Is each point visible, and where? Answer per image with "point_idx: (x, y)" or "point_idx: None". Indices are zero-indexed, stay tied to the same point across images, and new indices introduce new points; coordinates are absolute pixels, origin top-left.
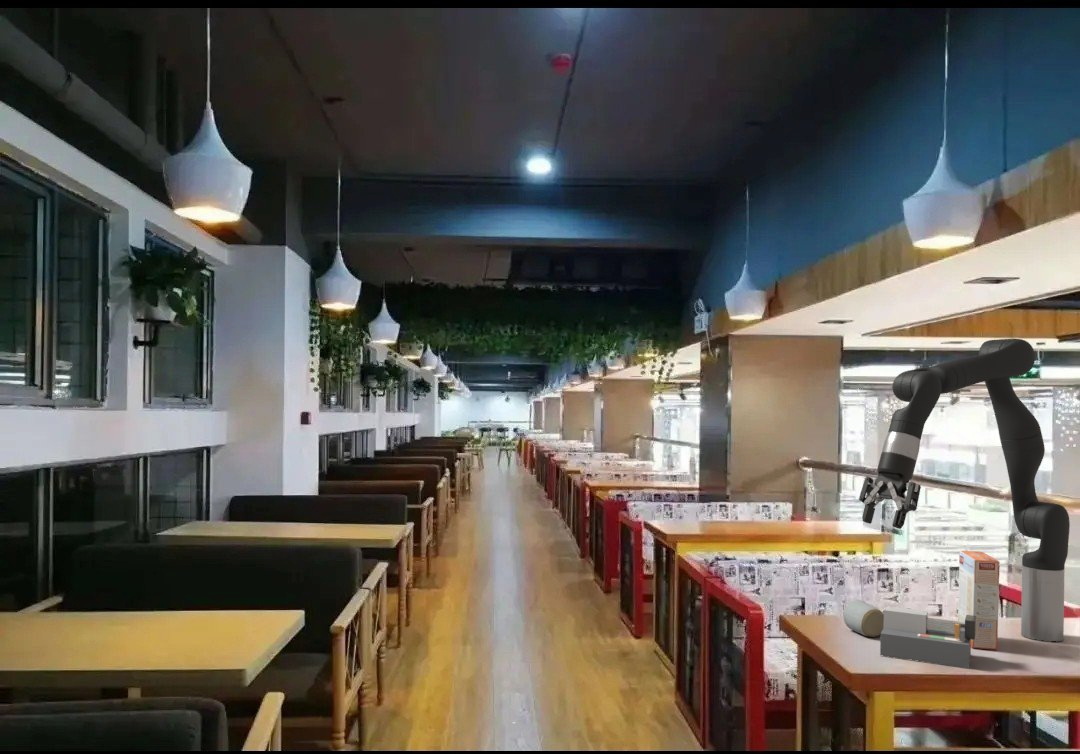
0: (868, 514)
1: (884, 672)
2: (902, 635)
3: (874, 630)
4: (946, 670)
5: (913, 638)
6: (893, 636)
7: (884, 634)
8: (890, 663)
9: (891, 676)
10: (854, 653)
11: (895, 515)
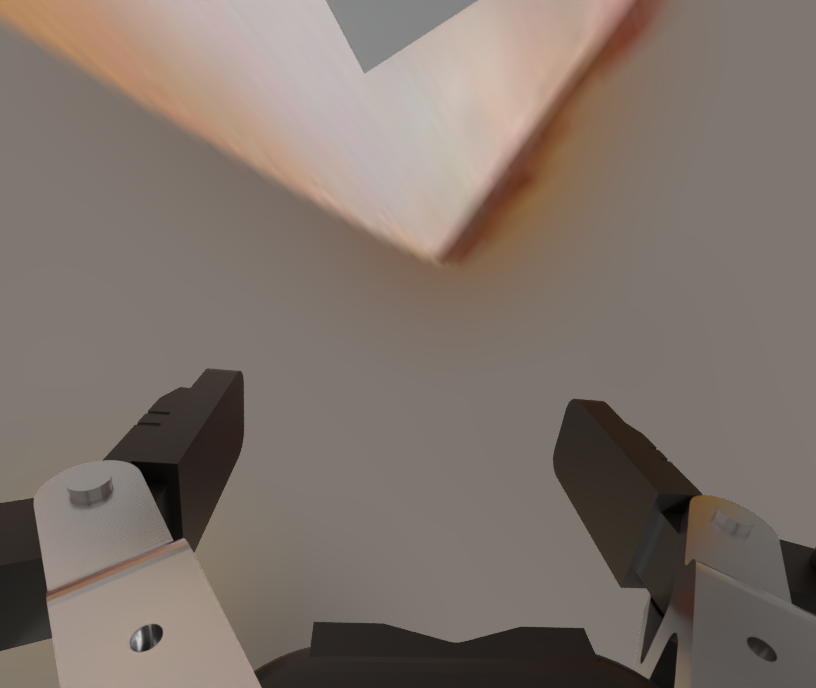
0: (217, 468)
1: (471, 200)
2: (423, 16)
3: None
4: (578, 6)
5: (466, 6)
6: (403, 47)
7: (375, 65)
8: (434, 109)
9: (499, 212)
10: (314, 115)
11: (599, 536)
